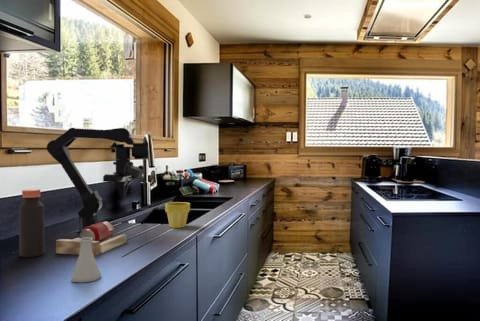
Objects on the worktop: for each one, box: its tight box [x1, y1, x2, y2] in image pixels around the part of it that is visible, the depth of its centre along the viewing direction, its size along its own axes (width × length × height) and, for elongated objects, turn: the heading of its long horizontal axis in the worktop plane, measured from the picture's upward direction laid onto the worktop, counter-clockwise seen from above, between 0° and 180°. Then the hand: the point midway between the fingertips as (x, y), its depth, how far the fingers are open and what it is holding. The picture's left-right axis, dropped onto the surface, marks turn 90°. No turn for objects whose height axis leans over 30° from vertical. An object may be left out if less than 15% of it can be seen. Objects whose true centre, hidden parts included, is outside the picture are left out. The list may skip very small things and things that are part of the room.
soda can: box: [79, 220, 115, 243], centre depth 131 cm, size 7×7×12 cm
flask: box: [70, 237, 102, 283], centre depth 94 cm, size 7×7×10 cm
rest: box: [55, 234, 127, 257], centre depth 126 cm, size 14×18×4 cm
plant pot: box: [164, 201, 191, 229], centre depth 160 cm, size 10×10×10 cm
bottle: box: [18, 188, 46, 258], centre depth 117 cm, size 7×7×20 cm
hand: (123, 198), depth 153 cm, fingers closed
